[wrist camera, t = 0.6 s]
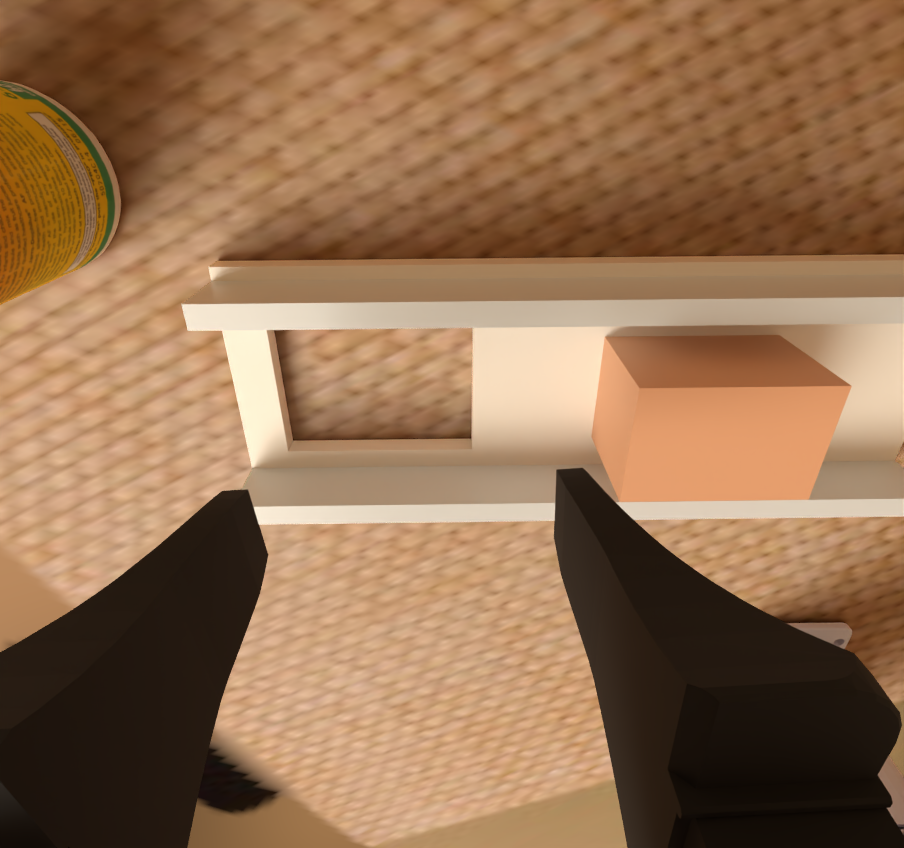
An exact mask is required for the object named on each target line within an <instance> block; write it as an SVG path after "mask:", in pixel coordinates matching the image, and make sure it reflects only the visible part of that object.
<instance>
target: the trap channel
mask: <svg viewBox="0 0 904 848" xmlns="http://www.w3.org/2000/svg"><path fill="white" fill-rule="evenodd" d="M208 268H209V273H210V278H211V282H209V283H208V284H207V285H206V286H204V287H203V288H202V289H200V290H199V291H198V292H197V293H195V294H194V295H193V296H191V297H190V298H189V299H188V300H186V301H185V302H184V303H182V304H181V305H182V309H183V313H184V317H185V321H186V325H187V329H188V331H222V332H223V337H224V342H225V346H226V351H227V355H228V360H229V364H230V369H231V374H232V378H233V383H234V387H235V392H236V396H237V401H238V406H239V410H240V415H241V419H242V424H243V428H244V433H245V438H246V442H247V447H248V451H249V456H250V460H251V465H252V470H251V472H250V474H249V476H248V477H247V479H246V481H245V483H244V485H243V487H242V489H241V490H246V489H248V491H249V494H250V497H251V501H252V504H253V507H254V510H255V514H256V517H257V520H258V523H259V525H263V524H342V523H422V522H502V521H555V495H556V469H570V468H584V469H585V470H586V471H587V472H588V473H589V474H590V475H591V476H592V478H593V479H594V480H595V481H596V482H597V483H598V484H599V485H600V486H601V487H602V488H603V490H604V491H605V492H606V493H607V494H608V495H609V496H610V497H611V498H612V499H613V500H614V501H615V502H616V503H617V504H618V505H619V506H620V507H621V508H622V509H623V510H624V511H625V512H626V513H627V514H628V515H629V516H630V517H631V518H632V519H633V520H661V519H740V518H820V517H900V516H904V467H902V466H901V465H900V464H899V463H897V462H896V461H895V460H896V457H897V455H898V453H899V451H900V449H901V446H902V444H903V442H904V254H878V255H774V256H670V257H566V258H462V259H358V260H254V261H216V262H215V263H213V264H212V265H210V266H209V267H208ZM415 328H472V411H471V439H386V440H300V441H293V437H292V432H291V426H290V420H289V414H288V408H287V402H286V396H285V391H284V385H283V379H282V373H281V367H280V361H279V355H278V350H277V344H276V338H275V332H274V330H319V329H415ZM722 335H780V336H782V337H783V338H784V339H786V340H787V341H789V342H790V343H791V344H793V345H794V346H796V347H797V348H799V349H800V350H801V351H803V352H804V353H806V354H807V355H809V356H810V357H811V358H813V359H814V360H816V361H817V362H818V363H820V364H821V365H823V366H824V367H826V368H827V369H828V370H830V371H831V372H833V373H834V374H835V375H837V376H838V377H840V378H841V379H843V380H844V381H845V382H847V383H848V384H850V385H851V386H852V387H851V389H850V392H849V395H848V397H847V400H846V403H845V405H844V408H843V410H842V413H841V416H840V418H839V421H838V424H837V426H836V429H835V431H834V434H833V437H832V439H831V442H830V445H829V447H828V450H827V453H826V455H825V458H824V460H823V463H822V466H821V468H820V471H819V474H818V476H817V479H816V481H815V484H814V487H813V489H812V492H811V495H810V497H809V500H743V501H662V502H619V499H618V497H617V495H616V492H615V490H614V488H613V486H612V483H611V481H610V479H609V476H608V474H607V472H606V469H605V467H604V465H603V462H602V460H601V458H600V456H599V453H598V451H597V449H596V446H595V444H594V442H593V439H592V437H591V436H592V428H593V421H594V413H595V406H596V398H597V391H598V383H599V376H600V369H601V361H602V354H603V346H604V339H605V337H627V336H722Z"/></svg>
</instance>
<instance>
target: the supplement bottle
mask: <svg viewBox="0 0 904 848" xmlns="http://www.w3.org/2000/svg"><path fill="white" fill-rule="evenodd" d="M120 212H121V198H120V191H119V185H118V181H117V178H116V174H115V172H114V169H113V167H112V164H111V162H110V160H109V158H108V156H107V154H106V152H105V151H104V149H103V148H102V146H101V144H100V143H99V141H98V140H97V138H96V137H95V136H94V134H93V133H92V132H91V131H90V130H89V129H88V128H87V127H86V126H85V125H84V123H83V122H82V121H80V120H79V119H78V118H77V117H76V116H75V115H74V114H73V113H71V112H70V111H69V110H68V109H66V108H65V107H64V106H62V105H61V104H59V103H58V102H57V101H55V100H53V99H52V98H50V97H48V96H46V95H44V94H42V93H40V92H38V91H36V90H34V89H32V88H29V87H27V86H24V85H21V84H18V83H14V82H8V81H1V80H0V305H1V304H3V303H5V302H7V301H9V300H12V299H14V298H16V297H18V296H20V295H22V294H24V293H27V292H29V291H31V290H33V289H36V288H38V287H40V286H42V285H44V284H46V283H49V282H51V281H53V280H55V279H57V278H59V277H62V276H64V275H66V274H68V273H71V272H73V271H75V270H77V269H79V268H81V267H83V266H85V265H87V264H89V263H90V262H92V261H93V260H95V259H96V258H98V257H99V256H100V255H101V254H102V253H103V252H104V251H105V250H106V248H107V247H108V245H109V244H110V242H111V240H112V238H113V236H114V234H115V232H116V229H117V226H118V223H119V218H120Z"/></svg>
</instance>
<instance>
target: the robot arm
mask: <svg viewBox="0 0 904 848" xmlns="http://www.w3.org/2000/svg"><path fill="white" fill-rule="evenodd" d="M554 539H555V545H556V550H557V556H558V561H559V566H560V571H561V576H562V579H563V582H564V585H565V588H566V592H567V595H568V598H569V601H570V604H571V607H572V610H573V613H574V616H575V620H576V623H577V626H578V629H579V632H580V635H581V638H582V641H583V644H584V647H585V650H586V653H587V657H588V660H589V663H590V667H591V670H592V674H593V678H594V682H595V686H596V691H597V696H598V700H599V705H600V709H601V714H602V719H603V723H604V728H605V733H606V738H607V743H608V748H609V753H610V758H611V762H612V767H613V773H614V778H615V783H616V788H617V793H618V799H619V804H620V809H621V814H622V820H623V825H624V831H625V836H626V842H627V848H904V777H903V775H902V774H901V772H900V771H899V769H898V768H897V766H896V765H895V763H894V762H893V760H892V759H891V757H890V756H889V754H890V753H891V751H892V749H893V747H894V746H895V744H896V741H897V738H898V735H899V733H900V730H901V726H902V723H901V717H900V712H899V711H898V710H897V708H896V707H895V705H894V704H893V703H892V701H891V700H890V699H889V697H888V696H887V695H886V693H885V692H884V690H883V689H882V687H881V686H880V685H879V683H878V682H877V680H876V679H875V678H874V676H873V675H872V674H871V673H870V672H869V670H868V669H867V668H866V667H865V666H864V665H863V663H862V662H861V661H860V660H859V659H858V657H857V656H856V655H855V654H854V653H852V652H850V651H847V650H845V647H846V645H847V643H848V641H849V639H850V637H851V636H852V630H851V628H850V627H849V626H848V625H847V624H846V623H841V622H836V623H785V622H783V621H781V620H779V619H777V618H775V617H773V616H771V615H769V614H767V613H765V612H763V611H761V610H760V609H758V608H756V607H754V606H752V605H751V604H749V603H747V602H745V601H743V600H742V599H740V598H738V597H737V596H735V595H733V594H732V593H730V592H728V591H727V590H725V589H723V588H722V587H720V586H718V585H717V584H715V583H714V582H712V581H711V580H709V579H707V578H706V577H704V576H703V575H701V574H700V573H699V572H697V571H696V570H694V569H693V568H692V567H690V566H689V565H687V564H686V563H685V562H683V561H682V560H680V559H679V558H678V557H676V556H675V555H674V554H672V553H671V552H670V551H668V550H667V549H666V548H665V547H664V546H662V545H661V544H660V543H659V542H658V541H657V540H655V539H654V538H653V537H652V536H651V535H649V534H648V533H647V532H646V531H645V530H644V529H643V528H642V527H641V526H640V525H638V524H637V523H636V522H635V521H634V520H633V519H632V518H631V517H630V516H629V515H628V514H627V513H626V512H625V511H624V510H623V509H622V508H621V507H620V506H619V505H618V504H617V503H616V502H615V501H614V500H613V499H612V498H611V497H610V496H609V495H608V494H607V493H606V492H605V491H604V490H603V488H602V487H601V486H600V485H599V484H598V483H597V482H596V481H595V480H594V479H593V478H592V476H591V475H590V474H589V473H588V472H587V471H586V470H585V469H584V468H570V469H556V495H555V524H554ZM267 558H268V553H267V550H266V546H265V543H264V540H263V536H262V533H261V530H260V527H259V523H258V520H257V517H256V514H255V510H254V507H253V504H252V501H251V497H250V494H249V491H248V489H246V490H231V491H222V492H221V493H219V494H218V495H217V496H215V497H214V498H213V499H212V500H211V501H209V502H208V503H207V504H206V505H205V506H204V507H202V508H201V509H200V510H199V511H198V512H197V513H196V514H194V515H193V516H192V517H191V518H190V519H189V520H188V521H186V522H185V523H184V524H183V525H182V526H181V527H180V528H178V529H177V530H176V531H175V532H174V533H173V534H171V535H170V536H169V537H168V538H167V539H166V540H164V541H163V542H162V543H161V544H160V545H159V546H157V547H156V548H155V549H154V550H153V551H151V552H150V553H149V554H148V555H146V556H145V557H144V558H143V559H141V560H140V561H139V562H138V563H136V564H135V565H134V566H132V567H131V568H130V569H129V570H127V571H126V572H125V573H124V574H122V575H121V576H120V577H119V578H117V579H116V580H115V581H113V582H112V583H111V584H109V585H108V586H106V587H105V588H104V589H102V590H101V591H99V592H98V593H97V594H95V595H94V596H92V597H91V598H89V599H88V600H86V601H85V602H83V603H82V604H80V605H79V606H77V607H76V608H74V609H73V610H71V611H70V612H68V613H67V614H65V615H64V616H62V617H60V618H59V619H57V620H55V621H54V622H52V623H50V624H49V625H47V626H45V627H44V628H42V629H40V630H38V631H37V632H35V633H33V634H32V635H30V636H29V637H27V638H25V639H23V640H22V641H20V642H18V643H17V644H15V645H13V646H11V647H9V648H7V649H6V650H4V651H2V652H0V848H187V846H188V841H189V836H190V831H191V827H192V821H193V817H194V812H195V807H196V802H197V797H198V792H199V788H200V784H201V779H202V775H203V771H204V766H205V762H206V758H207V754H208V749H209V745H210V741H211V737H212V733H213V730H214V726H215V722H216V718H217V714H218V710H219V706H220V703H221V699H222V696H223V693H224V690H225V687H226V684H227V681H228V678H229V676H230V673H231V670H232V668H233V665H234V662H235V660H236V657H237V654H238V652H239V649H240V646H241V644H242V641H243V638H244V636H245V633H246V630H247V628H248V625H249V622H250V619H251V617H252V614H253V611H254V609H255V606H256V603H257V600H258V597H259V594H260V590H261V586H262V582H263V578H264V573H265V568H266V563H267Z"/></svg>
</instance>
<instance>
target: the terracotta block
mask: <svg viewBox="0 0 904 848" xmlns="http://www.w3.org/2000/svg"><path fill="white" fill-rule="evenodd" d="M851 387H852V386H851V385H850V384H848V383H847V382H845V381H844V380H843V379H841V378H840V377H838V376H837V375H835V374H834V373H833V372H831V371H830V370H828V369H827V368H826V367H824V366H823V365H821V364H820V363H818V362H817V361H816V360H814V359H813V358H811V357H810V356H809V355H807V354H806V353H804V352H803V351H801V350H800V349H799V348H797V347H796V346H794V345H793V344H791V343H790V342H789V341H787V340H786V339H784V338H783V337H782V336H780V335H722V336H627V337H605V339H604V346H603V354H602V361H601V369H600V376H599V383H598V391H597V398H596V406H595V413H594V421H593V428H592V436H591V437H592V439H593V442H594V444H595V446H596V449H597V451H598V453H599V456H600V458H601V460H602V462H603V465H604V467H605V469H606V472H607V474H608V476H609V479H610V481H611V483H612V486H613V488H614V490H615V492H616V495H617V497H618V499H619V502H662V501H743V500H809V497H810V495H811V492H812V489H813V487H814V484H815V481H816V479H817V476H818V474H819V471H820V468H821V466H822V463H823V460H824V458H825V455H826V453H827V450H828V447H829V445H830V442H831V439H832V437H833V434H834V431H835V429H836V426H837V424H838V421H839V418H840V416H841V413H842V410H843V408H844V405H845V403H846V400H847V397H848V395H849V392H850V389H851Z"/></svg>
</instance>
